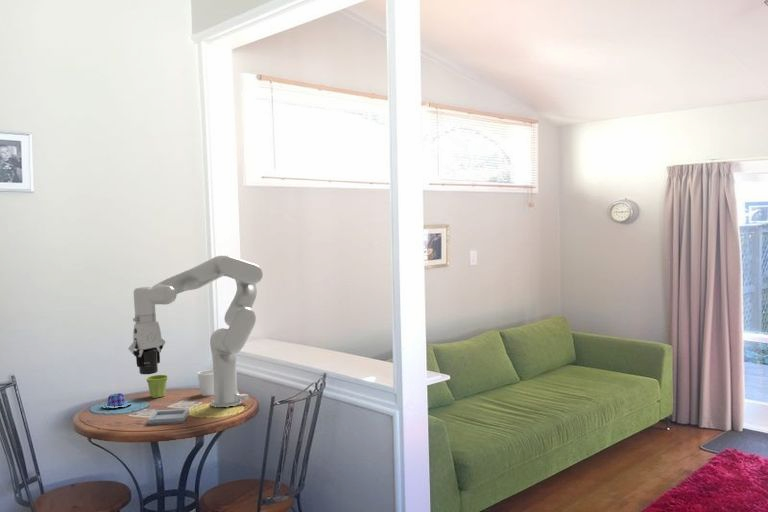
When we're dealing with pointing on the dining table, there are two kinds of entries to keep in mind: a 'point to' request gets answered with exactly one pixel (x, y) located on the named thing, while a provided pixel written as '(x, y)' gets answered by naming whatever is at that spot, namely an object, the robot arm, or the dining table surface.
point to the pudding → (116, 400)
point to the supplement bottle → (149, 362)
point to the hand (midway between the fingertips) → (148, 364)
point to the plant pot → (157, 385)
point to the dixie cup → (206, 382)
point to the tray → (168, 417)
